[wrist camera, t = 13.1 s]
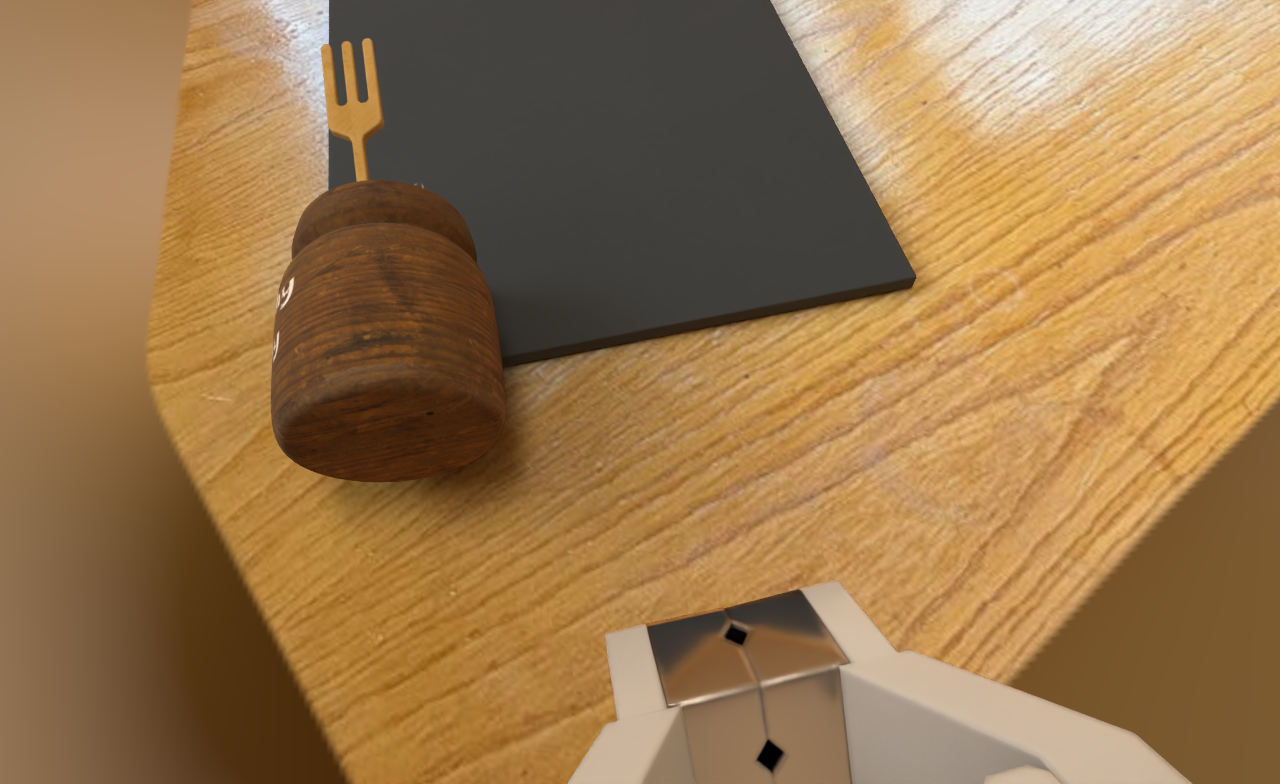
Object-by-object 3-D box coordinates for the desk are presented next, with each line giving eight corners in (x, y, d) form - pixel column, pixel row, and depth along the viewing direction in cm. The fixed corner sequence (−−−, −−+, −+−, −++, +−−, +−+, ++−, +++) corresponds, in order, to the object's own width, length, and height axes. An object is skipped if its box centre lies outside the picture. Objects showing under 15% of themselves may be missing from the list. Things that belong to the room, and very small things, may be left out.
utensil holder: (526, 465, 21) (487, 179, 27) (481, 356, 16) (444, 26, 21) (328, 503, 21) (330, 205, 27) (209, 404, 15) (245, 55, 21)
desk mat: (334, 400, 23) (326, 391, 23) (333, -132, 41) (329, -144, 40) (912, 288, 25) (917, 277, 24) (670, -176, 42) (671, -188, 42)
